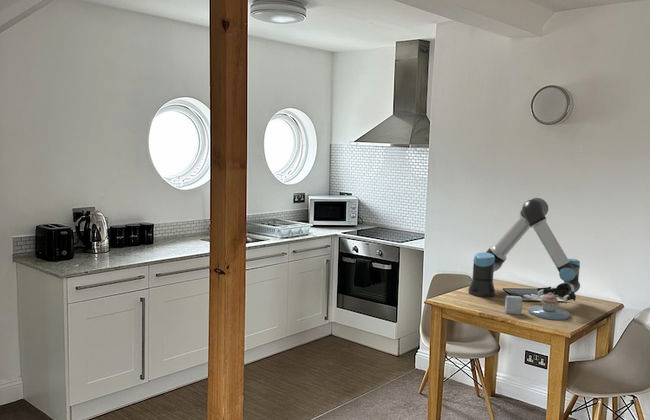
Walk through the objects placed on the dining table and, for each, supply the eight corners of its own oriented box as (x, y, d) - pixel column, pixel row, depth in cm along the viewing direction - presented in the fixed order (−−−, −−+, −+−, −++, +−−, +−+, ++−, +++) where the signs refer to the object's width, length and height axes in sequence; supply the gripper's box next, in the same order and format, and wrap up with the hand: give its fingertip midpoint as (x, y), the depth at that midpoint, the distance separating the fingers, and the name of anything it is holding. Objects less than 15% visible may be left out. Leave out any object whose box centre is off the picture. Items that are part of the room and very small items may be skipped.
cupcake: (535, 309, 318) (537, 291, 316) (545, 307, 323) (547, 288, 322) (551, 314, 310) (553, 295, 309) (561, 311, 316) (563, 293, 315)
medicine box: (519, 312, 318) (520, 296, 317) (521, 314, 314) (522, 298, 313) (504, 311, 319) (505, 295, 318) (506, 313, 315) (507, 297, 314)
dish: (534, 318, 308) (534, 315, 308) (524, 307, 328) (524, 304, 327) (574, 321, 306) (574, 317, 306) (562, 309, 326) (562, 306, 326)
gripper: (587, 301, 324) (574, 309, 308) (541, 291, 340) (527, 298, 324) (589, 287, 323) (576, 294, 307) (542, 278, 339) (528, 285, 323)
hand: (550, 296), depth 316 cm, fingers open, 13 cm apart
